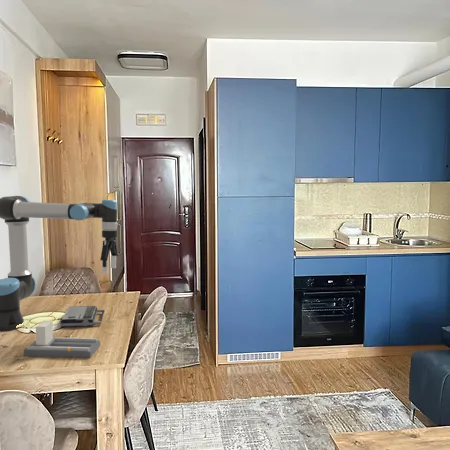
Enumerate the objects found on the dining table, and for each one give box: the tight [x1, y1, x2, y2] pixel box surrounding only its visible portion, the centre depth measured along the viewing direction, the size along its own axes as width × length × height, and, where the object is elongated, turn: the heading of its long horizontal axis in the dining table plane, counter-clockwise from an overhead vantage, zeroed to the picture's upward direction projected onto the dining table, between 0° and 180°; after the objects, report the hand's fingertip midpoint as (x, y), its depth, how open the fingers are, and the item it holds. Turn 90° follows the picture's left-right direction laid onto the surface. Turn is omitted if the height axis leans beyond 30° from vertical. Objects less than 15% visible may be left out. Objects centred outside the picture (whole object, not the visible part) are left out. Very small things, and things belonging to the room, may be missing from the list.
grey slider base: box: [23, 336, 101, 359], centre depth 197 cm, size 28×14×4 cm, turn 89°
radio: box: [59, 305, 106, 329], centre depth 239 cm, size 24×5×20 cm
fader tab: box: [34, 320, 55, 346], centre depth 196 cm, size 6×8×9 cm
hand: (109, 270), depth 235 cm, fingers open, 13 cm apart
